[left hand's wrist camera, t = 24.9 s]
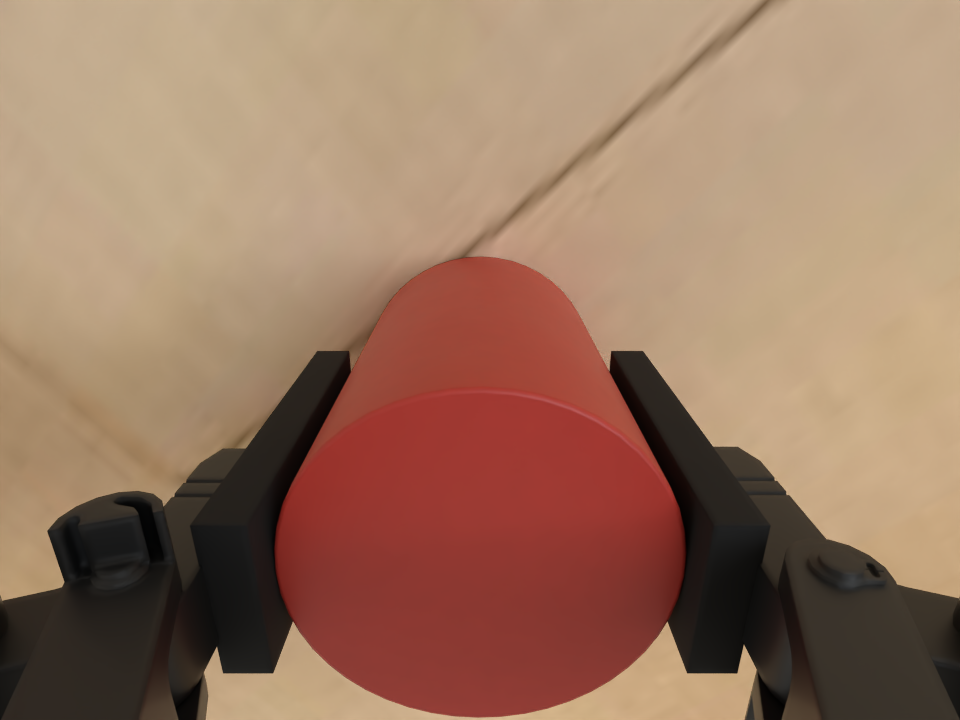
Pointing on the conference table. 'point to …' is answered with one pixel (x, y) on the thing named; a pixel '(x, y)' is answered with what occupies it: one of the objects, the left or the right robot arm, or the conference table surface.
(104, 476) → the conference table surface
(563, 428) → the canister
